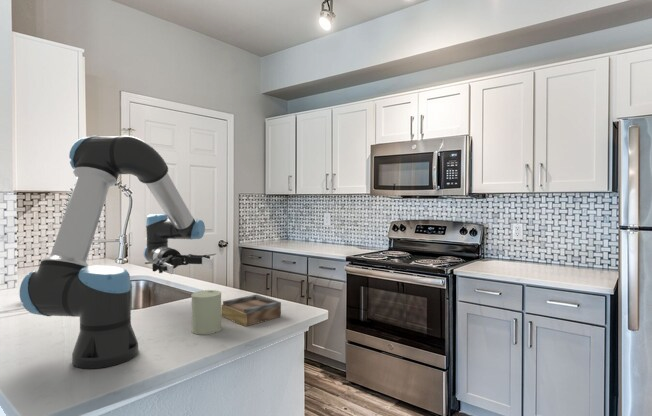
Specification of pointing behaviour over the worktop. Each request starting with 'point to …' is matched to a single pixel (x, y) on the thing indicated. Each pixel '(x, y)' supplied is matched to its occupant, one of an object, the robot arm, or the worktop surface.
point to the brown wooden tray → (251, 309)
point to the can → (206, 312)
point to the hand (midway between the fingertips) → (192, 266)
